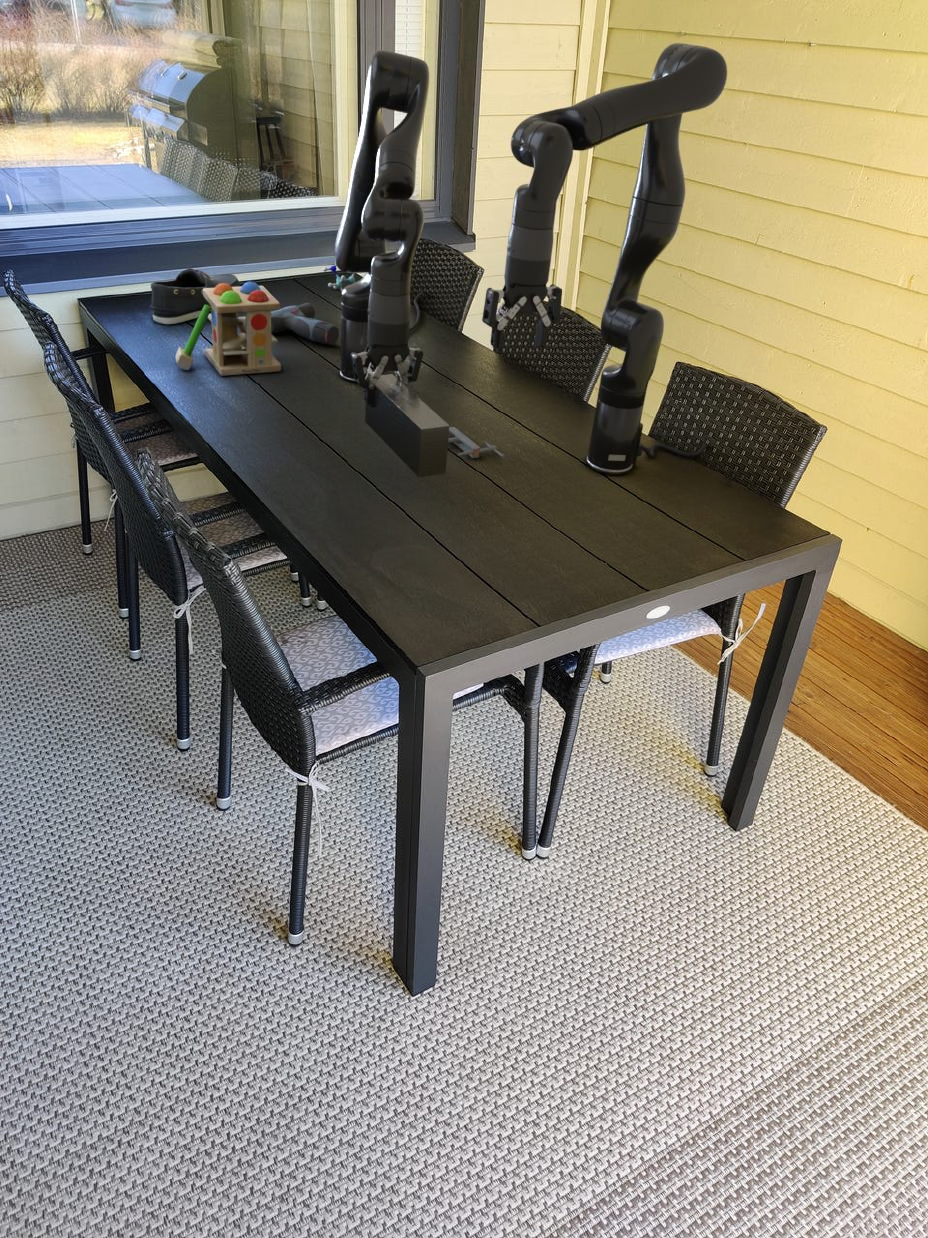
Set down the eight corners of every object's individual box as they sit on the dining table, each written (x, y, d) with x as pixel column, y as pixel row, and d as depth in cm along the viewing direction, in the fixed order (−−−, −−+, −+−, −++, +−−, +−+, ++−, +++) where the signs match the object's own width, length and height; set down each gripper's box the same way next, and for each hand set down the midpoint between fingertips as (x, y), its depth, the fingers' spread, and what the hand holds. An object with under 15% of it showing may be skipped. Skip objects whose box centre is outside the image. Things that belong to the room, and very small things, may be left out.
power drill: (365, 313, 253) (305, 296, 261) (318, 330, 240) (256, 311, 248) (364, 334, 256) (305, 316, 264) (318, 351, 243) (257, 332, 251)
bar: (364, 421, 190) (366, 376, 185) (390, 418, 192) (392, 373, 187) (418, 477, 172) (421, 428, 167) (445, 473, 175) (449, 425, 169)
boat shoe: (260, 302, 272) (258, 264, 267) (170, 326, 248) (166, 284, 243) (226, 294, 278) (223, 256, 272) (135, 316, 254) (130, 275, 248)
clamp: (428, 429, 204) (470, 423, 208) (427, 439, 205) (469, 432, 209) (464, 459, 193) (507, 451, 198) (463, 469, 194) (506, 461, 199)
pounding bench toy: (183, 379, 220) (176, 299, 210) (169, 357, 231) (162, 280, 221) (282, 371, 230) (280, 294, 220) (264, 350, 240) (262, 276, 230)
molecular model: (356, 287, 278) (344, 252, 277) (328, 299, 282) (316, 265, 280) (372, 289, 288) (361, 256, 287) (345, 301, 292) (334, 268, 291)
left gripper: (359, 325, 171) (357, 416, 181) (433, 319, 177) (427, 408, 187) (344, 311, 176) (342, 400, 186) (416, 306, 182) (411, 393, 192)
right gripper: (502, 260, 158) (492, 358, 167) (577, 257, 164) (563, 351, 173) (481, 248, 164) (472, 343, 173) (553, 245, 170) (541, 337, 179)
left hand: (385, 404), depth 186 cm, fingers closed on bar, 5 cm apart
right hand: (518, 347), depth 173 cm, fingers open, 8 cm apart
